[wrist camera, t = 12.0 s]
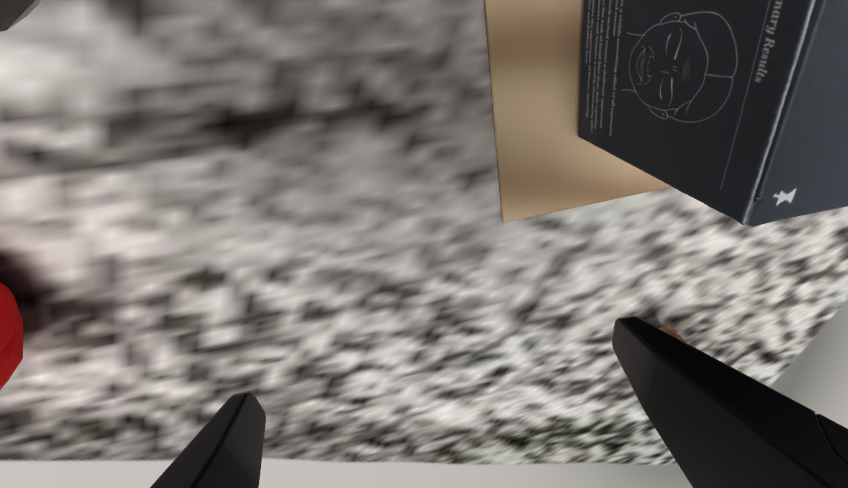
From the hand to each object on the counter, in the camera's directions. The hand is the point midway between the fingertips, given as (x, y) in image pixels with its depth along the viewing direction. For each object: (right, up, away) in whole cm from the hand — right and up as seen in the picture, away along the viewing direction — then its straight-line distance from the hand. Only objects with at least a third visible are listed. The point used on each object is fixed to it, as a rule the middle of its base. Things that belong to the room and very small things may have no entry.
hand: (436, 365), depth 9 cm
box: (+10, +13, +9) cm, 18 cm away
